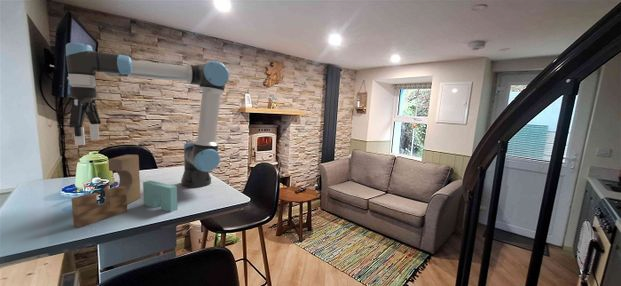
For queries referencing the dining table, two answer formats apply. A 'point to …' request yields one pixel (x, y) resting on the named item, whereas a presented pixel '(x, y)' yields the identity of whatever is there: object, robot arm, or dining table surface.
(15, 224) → the dining table surface
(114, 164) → the decorative block
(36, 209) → the dining table surface
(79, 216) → the walnut board
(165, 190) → the teal board
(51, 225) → the dining table surface
